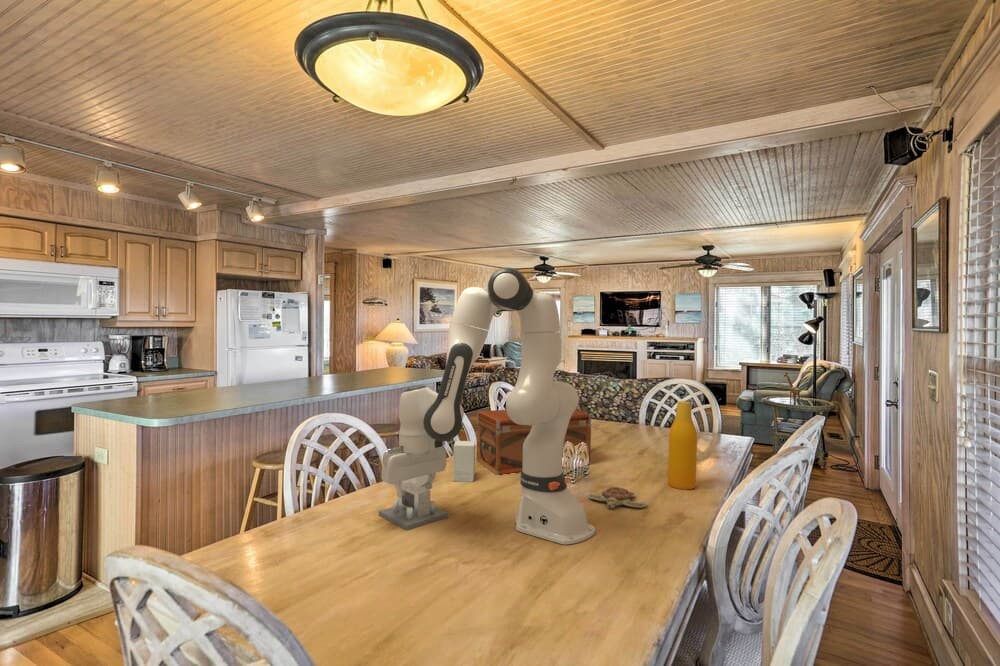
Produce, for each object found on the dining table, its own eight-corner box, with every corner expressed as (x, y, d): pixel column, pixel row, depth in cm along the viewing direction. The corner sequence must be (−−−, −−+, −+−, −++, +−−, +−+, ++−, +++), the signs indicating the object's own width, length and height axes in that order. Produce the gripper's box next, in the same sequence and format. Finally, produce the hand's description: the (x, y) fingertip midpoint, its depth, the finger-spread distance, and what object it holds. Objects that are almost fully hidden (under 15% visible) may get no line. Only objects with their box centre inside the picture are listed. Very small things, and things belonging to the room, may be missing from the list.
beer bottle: (691, 482, 182) (694, 400, 181) (699, 490, 172) (701, 405, 172) (664, 480, 182) (667, 399, 182) (670, 489, 173) (673, 404, 172)
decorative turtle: (580, 506, 157) (580, 490, 157) (596, 490, 172) (596, 475, 172) (639, 518, 149) (640, 500, 148) (651, 500, 163) (652, 485, 163)
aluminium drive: (429, 514, 143) (430, 490, 143) (417, 518, 141) (418, 493, 140) (409, 505, 151) (409, 481, 150) (397, 508, 148) (398, 484, 148)
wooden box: (475, 461, 203) (476, 411, 203) (563, 452, 220) (564, 406, 219) (495, 476, 185) (496, 421, 184) (591, 465, 201) (592, 414, 201)
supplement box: (473, 482, 177) (474, 445, 177) (452, 481, 177) (452, 445, 177) (475, 475, 184) (475, 440, 184) (454, 475, 184) (455, 440, 184)
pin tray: (448, 516, 145) (448, 502, 145) (406, 530, 136) (406, 514, 136) (419, 503, 155) (419, 489, 155) (378, 515, 146) (379, 500, 146)
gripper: (389, 451, 135) (389, 504, 135) (449, 439, 149) (449, 487, 150) (376, 448, 139) (376, 498, 139) (436, 436, 154) (436, 482, 154)
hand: (415, 492), depth 145 cm, fingers open, 8 cm apart
